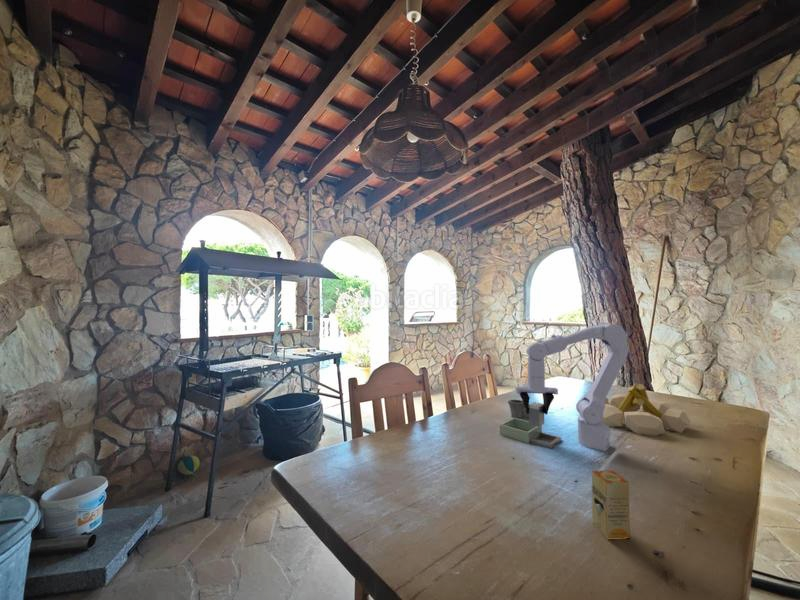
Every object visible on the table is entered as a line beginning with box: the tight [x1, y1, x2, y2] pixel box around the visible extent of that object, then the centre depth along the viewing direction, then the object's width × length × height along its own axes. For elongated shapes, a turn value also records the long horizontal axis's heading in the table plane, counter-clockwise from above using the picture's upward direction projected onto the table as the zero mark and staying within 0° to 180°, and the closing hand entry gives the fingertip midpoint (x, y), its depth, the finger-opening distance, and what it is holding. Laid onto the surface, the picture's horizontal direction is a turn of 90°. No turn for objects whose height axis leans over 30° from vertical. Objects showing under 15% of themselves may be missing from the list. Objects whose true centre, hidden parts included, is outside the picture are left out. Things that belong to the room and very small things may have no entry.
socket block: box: [528, 431, 563, 450], centre depth 118 cm, size 10×10×2 cm
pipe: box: [507, 399, 529, 420], centre depth 144 cm, size 6×13×8 cm, turn 89°
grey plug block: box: [528, 401, 545, 427], centre depth 120 cm, size 4×5×7 cm
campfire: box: [601, 382, 692, 437], centre depth 141 cm, size 35×34×17 cm
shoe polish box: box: [591, 470, 631, 539], centre depth 72 cm, size 5×5×12 cm
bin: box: [499, 418, 543, 444], centre depth 125 cm, size 11×11×5 cm
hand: (536, 413), depth 120 cm, fingers closed on grey plug block, 6 cm apart
